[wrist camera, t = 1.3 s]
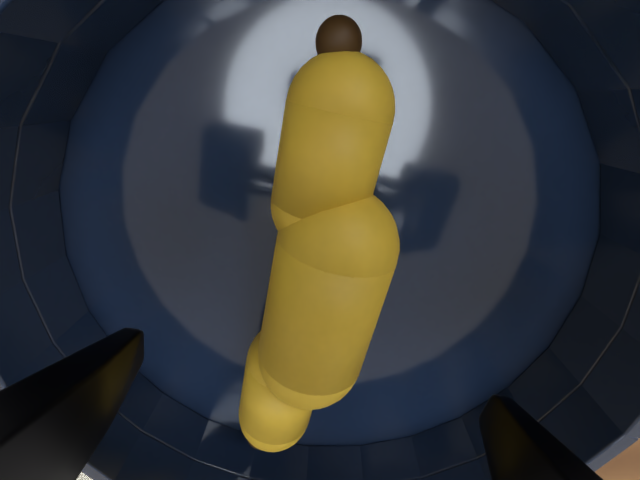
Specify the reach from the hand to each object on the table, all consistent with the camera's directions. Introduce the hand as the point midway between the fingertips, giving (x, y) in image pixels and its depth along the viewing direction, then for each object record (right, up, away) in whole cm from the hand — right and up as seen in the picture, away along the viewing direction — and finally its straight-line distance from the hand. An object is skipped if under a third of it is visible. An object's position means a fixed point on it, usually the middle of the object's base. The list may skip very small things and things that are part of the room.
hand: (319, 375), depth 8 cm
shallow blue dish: (0, +2, +5) cm, 6 cm away
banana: (0, +2, +5) cm, 5 cm away
